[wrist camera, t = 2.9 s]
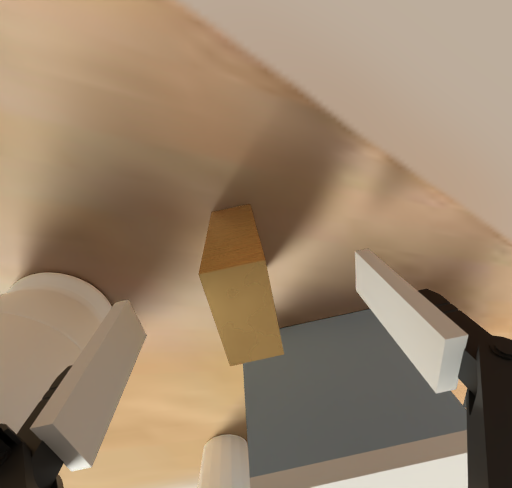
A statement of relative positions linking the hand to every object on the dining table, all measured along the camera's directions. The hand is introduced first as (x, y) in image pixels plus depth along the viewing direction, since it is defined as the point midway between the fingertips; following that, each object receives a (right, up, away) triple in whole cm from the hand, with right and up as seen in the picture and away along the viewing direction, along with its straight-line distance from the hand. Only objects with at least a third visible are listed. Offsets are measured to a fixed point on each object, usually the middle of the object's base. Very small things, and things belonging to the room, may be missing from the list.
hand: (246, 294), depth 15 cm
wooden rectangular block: (-1, +3, +6) cm, 7 cm away
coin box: (+7, -12, +14) cm, 20 cm away
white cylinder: (-3, -23, +18) cm, 30 cm away
